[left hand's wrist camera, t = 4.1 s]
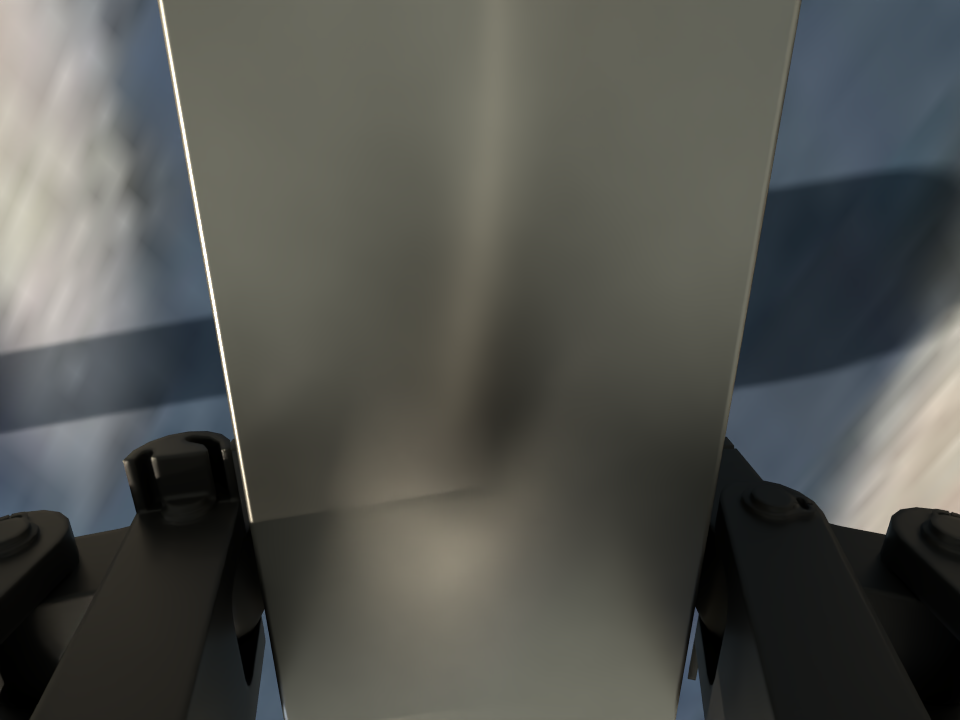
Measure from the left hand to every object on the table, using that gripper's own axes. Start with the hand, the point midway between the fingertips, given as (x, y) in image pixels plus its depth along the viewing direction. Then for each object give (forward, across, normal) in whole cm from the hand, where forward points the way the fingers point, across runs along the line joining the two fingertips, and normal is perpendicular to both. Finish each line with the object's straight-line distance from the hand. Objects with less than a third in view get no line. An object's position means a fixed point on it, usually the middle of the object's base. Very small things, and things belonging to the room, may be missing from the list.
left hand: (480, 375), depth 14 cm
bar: (+1, 0, -8) cm, 8 cm away
